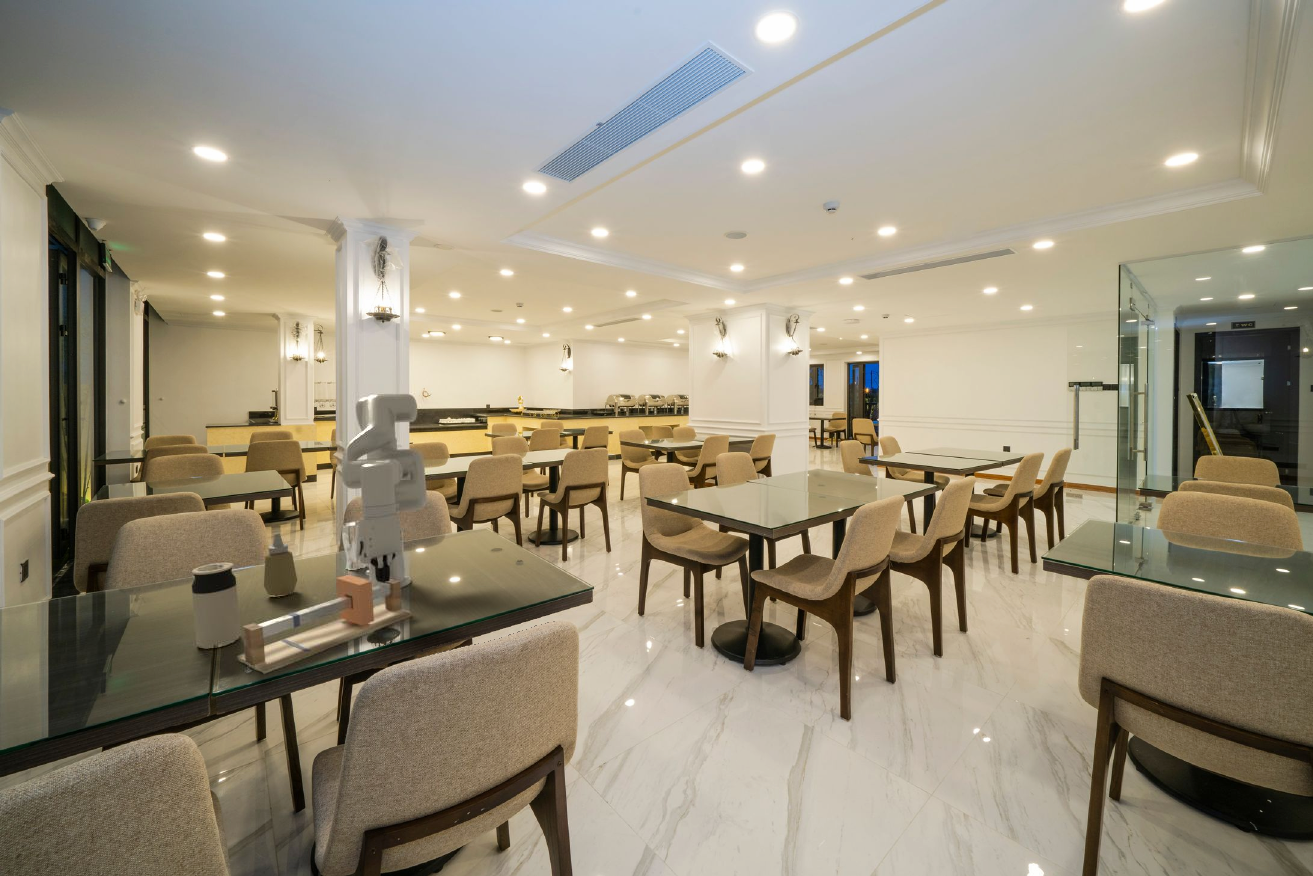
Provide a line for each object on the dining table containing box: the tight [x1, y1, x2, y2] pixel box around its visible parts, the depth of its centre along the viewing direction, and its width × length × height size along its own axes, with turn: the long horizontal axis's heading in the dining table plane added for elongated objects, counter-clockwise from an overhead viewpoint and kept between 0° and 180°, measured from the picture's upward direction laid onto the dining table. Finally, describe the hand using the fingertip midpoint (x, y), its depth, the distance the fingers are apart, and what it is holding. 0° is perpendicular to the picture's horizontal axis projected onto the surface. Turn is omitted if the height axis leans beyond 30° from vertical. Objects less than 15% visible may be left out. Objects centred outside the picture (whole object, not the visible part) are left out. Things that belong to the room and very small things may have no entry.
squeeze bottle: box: [263, 532, 298, 596], centre depth 158 cm, size 8×8×18 cm
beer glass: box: [341, 520, 368, 571], centre depth 182 cm, size 7×7×15 cm
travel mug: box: [191, 562, 241, 646], centre depth 127 cm, size 8×8×18 cm
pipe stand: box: [236, 579, 412, 671], centre depth 130 cm, size 12×34×8 cm, turn 149°
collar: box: [335, 574, 374, 625], centre depth 135 cm, size 10×3×10 cm, turn 59°
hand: (383, 581), depth 141 cm, fingers closed
